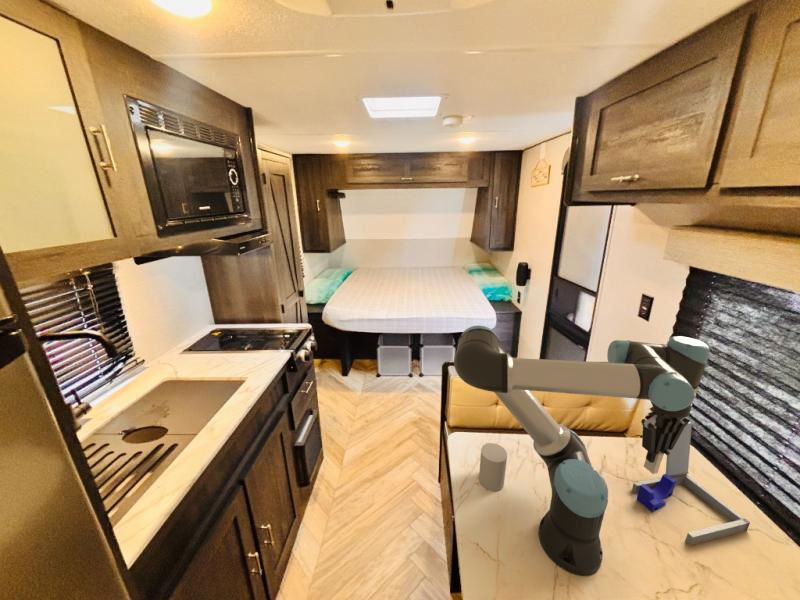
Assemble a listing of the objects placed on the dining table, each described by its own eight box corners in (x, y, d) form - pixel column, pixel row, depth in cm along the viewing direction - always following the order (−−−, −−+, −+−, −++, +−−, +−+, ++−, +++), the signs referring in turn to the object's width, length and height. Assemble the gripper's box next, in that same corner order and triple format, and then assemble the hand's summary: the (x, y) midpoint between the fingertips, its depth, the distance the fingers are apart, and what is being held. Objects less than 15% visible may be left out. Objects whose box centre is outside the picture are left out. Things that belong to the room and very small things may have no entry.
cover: (672, 426, 97) (665, 423, 99) (668, 478, 100) (662, 474, 101) (692, 423, 99) (685, 420, 101) (688, 474, 101) (681, 470, 103)
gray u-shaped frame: (689, 545, 83) (692, 537, 82) (631, 490, 99) (633, 482, 99) (746, 530, 87) (750, 522, 86) (681, 479, 103) (684, 472, 102)
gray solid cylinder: (494, 468, 108) (497, 440, 105) (509, 487, 101) (512, 458, 97) (474, 474, 106) (476, 446, 102) (487, 494, 98) (490, 464, 95)
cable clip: (652, 512, 92) (656, 497, 90) (636, 500, 96) (640, 485, 95) (677, 499, 96) (682, 484, 94) (661, 488, 100) (665, 473, 99)
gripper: (667, 408, 73) (643, 485, 80) (710, 402, 76) (683, 477, 83) (638, 390, 80) (618, 462, 87) (678, 385, 83) (656, 455, 90)
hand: (650, 469), depth 85 cm, fingers closed
